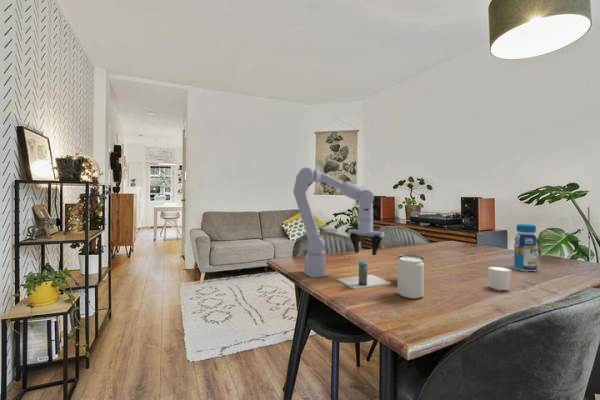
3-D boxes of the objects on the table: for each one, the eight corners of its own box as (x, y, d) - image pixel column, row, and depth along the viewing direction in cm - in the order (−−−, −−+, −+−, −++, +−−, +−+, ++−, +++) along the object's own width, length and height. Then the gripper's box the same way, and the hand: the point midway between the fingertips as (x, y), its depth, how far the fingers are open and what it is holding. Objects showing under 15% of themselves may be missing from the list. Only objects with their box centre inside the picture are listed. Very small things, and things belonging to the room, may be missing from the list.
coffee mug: (425, 285, 108) (425, 258, 108) (400, 284, 110) (400, 257, 109) (419, 277, 119) (419, 252, 119) (396, 276, 121) (396, 251, 121)
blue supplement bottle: (516, 266, 138) (516, 223, 138) (539, 269, 132) (540, 224, 131) (511, 269, 132) (512, 224, 132) (535, 273, 126) (536, 226, 126)
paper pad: (337, 280, 115) (337, 278, 115) (371, 276, 121) (371, 274, 121) (354, 289, 104) (354, 287, 104) (391, 284, 110) (391, 282, 110)
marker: (356, 283, 108) (357, 261, 108) (363, 282, 109) (364, 261, 109) (361, 286, 105) (362, 263, 105) (368, 285, 106) (369, 263, 106)
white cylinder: (507, 286, 108) (507, 267, 108) (513, 292, 101) (514, 271, 101) (485, 284, 110) (486, 265, 110) (490, 290, 104) (490, 270, 104)
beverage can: (421, 301, 92) (421, 263, 92) (394, 296, 97) (395, 259, 96) (425, 294, 99) (426, 258, 99) (400, 289, 103) (401, 255, 103)
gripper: (344, 219, 121) (344, 252, 121) (378, 221, 112) (378, 257, 112) (353, 218, 126) (352, 250, 126) (386, 220, 117) (385, 254, 117)
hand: (365, 253), depth 119 cm, fingers open, 7 cm apart
